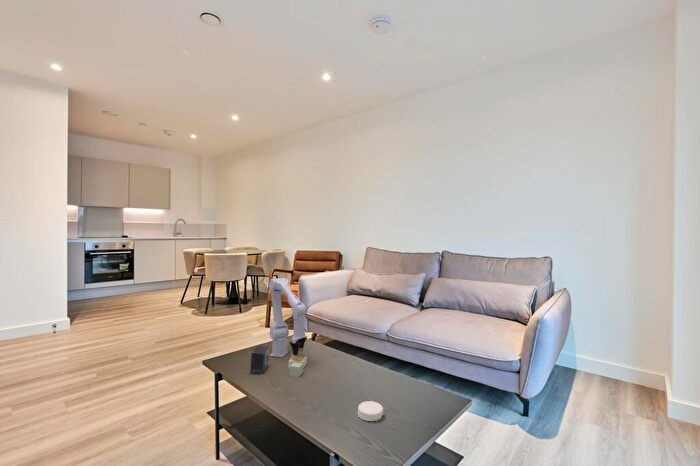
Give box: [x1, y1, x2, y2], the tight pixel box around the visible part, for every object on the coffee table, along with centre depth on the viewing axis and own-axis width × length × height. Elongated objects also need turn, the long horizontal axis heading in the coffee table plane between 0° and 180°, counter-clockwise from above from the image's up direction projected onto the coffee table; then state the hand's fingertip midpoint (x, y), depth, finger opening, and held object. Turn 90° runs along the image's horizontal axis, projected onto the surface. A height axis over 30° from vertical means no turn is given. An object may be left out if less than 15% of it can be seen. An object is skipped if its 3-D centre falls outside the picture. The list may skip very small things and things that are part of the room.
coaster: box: [357, 400, 384, 421], centre depth 130 cm, size 10×10×4 cm
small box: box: [249, 345, 270, 375], centre depth 169 cm, size 11×6×10 cm, turn 179°
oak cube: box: [290, 347, 305, 361], centre depth 176 cm, size 5×5×5 cm
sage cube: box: [289, 362, 304, 378], centre depth 165 cm, size 5×5×5 cm
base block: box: [287, 356, 308, 370], centre depth 176 cm, size 8×8×4 cm
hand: (298, 352), depth 176 cm, fingers open, 7 cm apart
